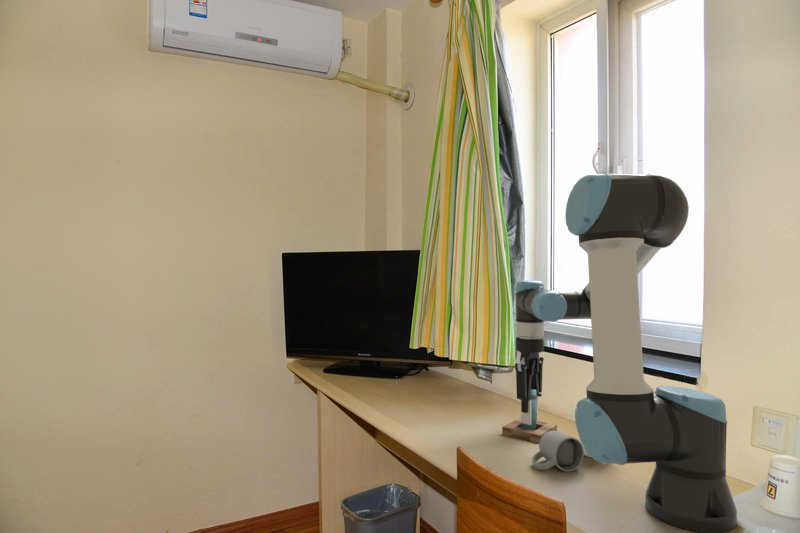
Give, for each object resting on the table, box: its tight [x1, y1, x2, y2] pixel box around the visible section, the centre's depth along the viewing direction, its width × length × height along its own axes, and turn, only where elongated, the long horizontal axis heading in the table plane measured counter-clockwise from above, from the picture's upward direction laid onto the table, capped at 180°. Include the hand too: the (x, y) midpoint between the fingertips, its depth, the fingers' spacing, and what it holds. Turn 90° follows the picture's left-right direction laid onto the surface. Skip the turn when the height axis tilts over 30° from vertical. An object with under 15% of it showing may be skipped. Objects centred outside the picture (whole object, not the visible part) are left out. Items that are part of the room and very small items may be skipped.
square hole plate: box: [501, 416, 558, 444], centre depth 144 cm, size 11×11×2 cm
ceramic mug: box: [531, 430, 585, 473], centre depth 121 cm, size 11×8×8 cm
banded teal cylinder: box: [523, 388, 537, 431], centre depth 144 cm, size 4×4×12 cm
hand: (529, 421), depth 144 cm, fingers closed on banded teal cylinder, 3 cm apart
